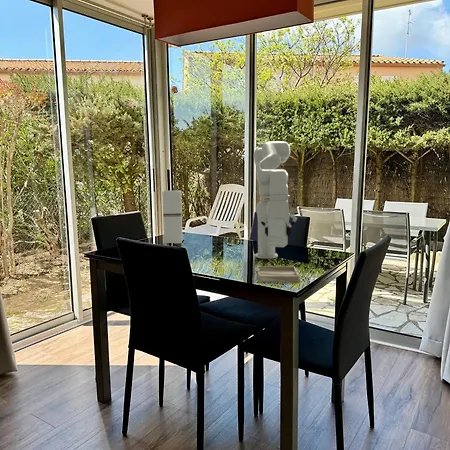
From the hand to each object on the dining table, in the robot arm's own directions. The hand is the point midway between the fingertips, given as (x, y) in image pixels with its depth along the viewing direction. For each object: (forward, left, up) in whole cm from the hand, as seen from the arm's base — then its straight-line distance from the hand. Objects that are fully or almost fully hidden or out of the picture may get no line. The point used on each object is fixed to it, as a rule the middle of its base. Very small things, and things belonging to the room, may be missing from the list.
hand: (277, 235), depth 189 cm
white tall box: (-77, -61, -19) cm, 100 cm away
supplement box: (0, 0, -5) cm, 5 cm away
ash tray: (0, 0, -19) cm, 19 cm away
